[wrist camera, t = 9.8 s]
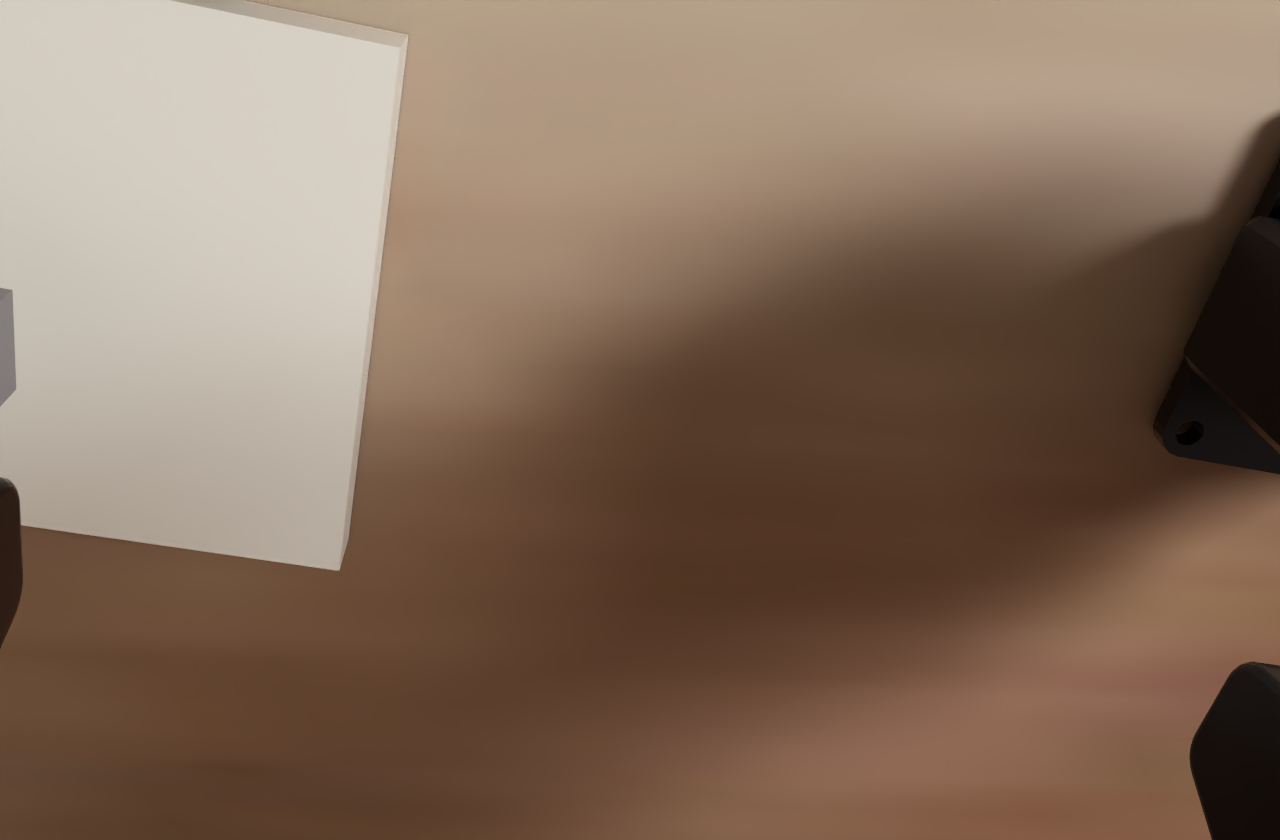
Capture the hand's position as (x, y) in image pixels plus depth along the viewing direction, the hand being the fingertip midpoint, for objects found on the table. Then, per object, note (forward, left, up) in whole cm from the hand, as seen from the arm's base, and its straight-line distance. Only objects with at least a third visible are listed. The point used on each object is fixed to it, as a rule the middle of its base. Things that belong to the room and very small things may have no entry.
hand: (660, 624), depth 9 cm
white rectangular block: (+10, +4, -12) cm, 16 cm away
